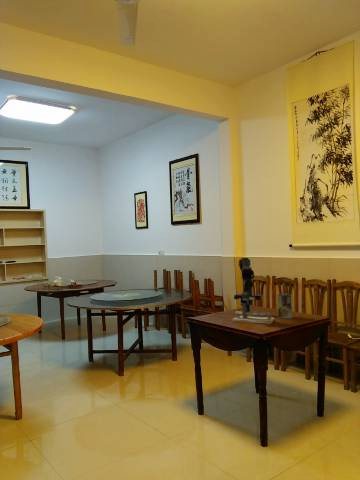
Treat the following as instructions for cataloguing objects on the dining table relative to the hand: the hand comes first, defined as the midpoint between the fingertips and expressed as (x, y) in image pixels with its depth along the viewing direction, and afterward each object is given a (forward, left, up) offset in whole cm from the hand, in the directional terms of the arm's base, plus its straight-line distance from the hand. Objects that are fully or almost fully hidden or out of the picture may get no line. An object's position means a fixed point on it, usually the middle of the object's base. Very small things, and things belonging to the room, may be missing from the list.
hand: (248, 309), depth 267 cm
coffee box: (-15, +22, -8) cm, 28 cm away
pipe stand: (0, +3, -8) cm, 8 cm away
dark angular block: (0, -3, -5) cm, 6 cm away
